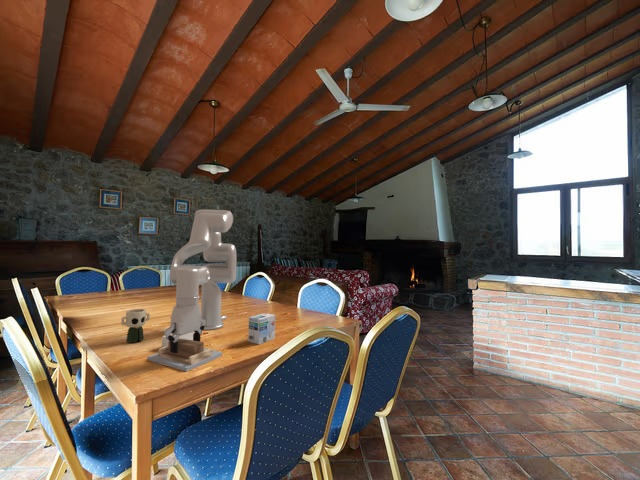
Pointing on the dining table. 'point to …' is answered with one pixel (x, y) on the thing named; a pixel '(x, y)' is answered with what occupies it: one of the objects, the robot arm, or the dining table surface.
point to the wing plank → (186, 336)
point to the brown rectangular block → (187, 348)
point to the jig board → (179, 364)
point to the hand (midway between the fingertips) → (185, 348)
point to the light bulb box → (261, 328)
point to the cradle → (192, 359)
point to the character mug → (135, 324)
